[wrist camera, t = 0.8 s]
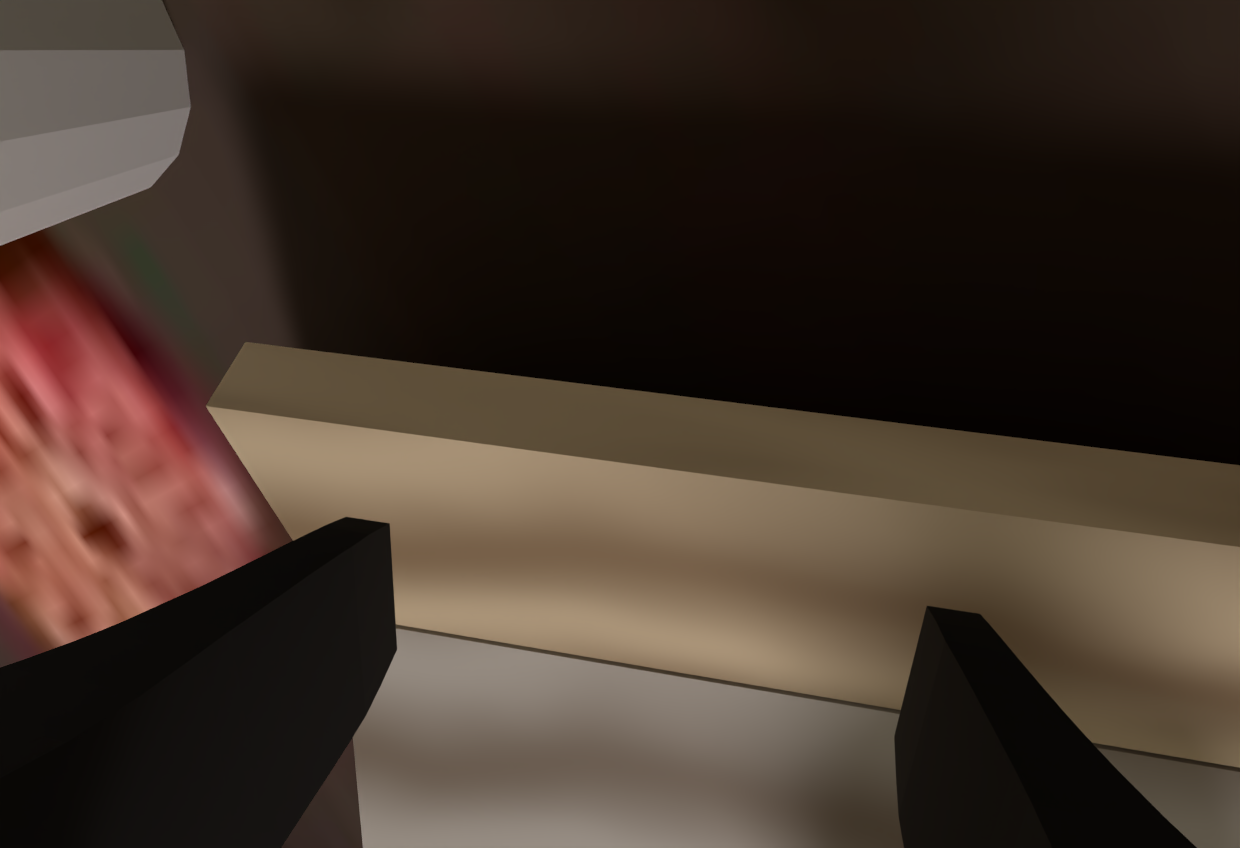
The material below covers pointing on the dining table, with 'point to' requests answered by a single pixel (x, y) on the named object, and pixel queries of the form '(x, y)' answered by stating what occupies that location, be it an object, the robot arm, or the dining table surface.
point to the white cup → (85, 106)
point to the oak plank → (763, 536)
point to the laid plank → (657, 759)
